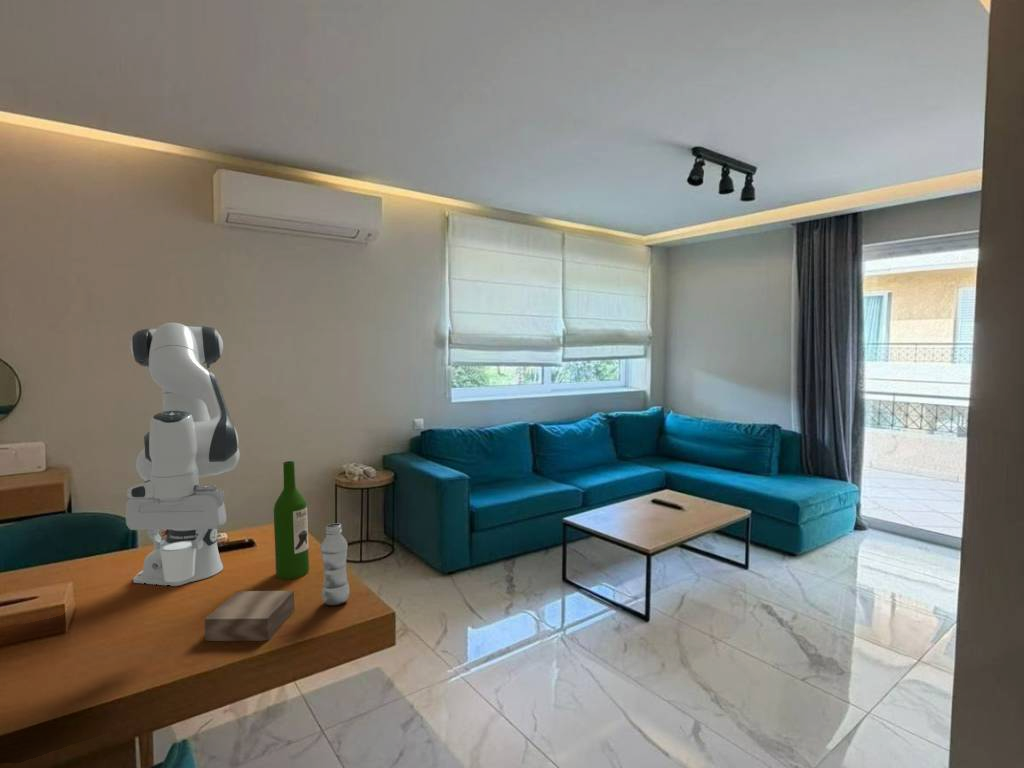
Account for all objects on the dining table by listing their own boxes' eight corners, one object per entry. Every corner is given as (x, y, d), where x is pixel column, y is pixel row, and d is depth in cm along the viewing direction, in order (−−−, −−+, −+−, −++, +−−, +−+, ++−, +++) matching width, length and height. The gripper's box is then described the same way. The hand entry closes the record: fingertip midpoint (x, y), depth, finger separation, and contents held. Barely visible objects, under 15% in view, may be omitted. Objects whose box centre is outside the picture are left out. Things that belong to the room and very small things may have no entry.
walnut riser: (205, 641, 119) (204, 619, 119) (238, 611, 133) (237, 591, 133) (268, 640, 119) (267, 618, 118) (294, 610, 133) (293, 590, 132)
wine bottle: (296, 580, 150) (292, 465, 149) (269, 577, 153) (264, 464, 151) (315, 568, 159) (311, 459, 157) (289, 565, 161) (285, 458, 159)
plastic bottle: (354, 601, 137) (352, 524, 136) (330, 611, 132) (327, 531, 131) (341, 594, 141) (339, 519, 140) (317, 603, 136) (314, 526, 135)
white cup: (200, 568, 122) (199, 538, 122) (194, 580, 116) (193, 548, 116) (165, 573, 120) (163, 542, 120) (157, 585, 114) (155, 552, 113)
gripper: (230, 482, 120) (233, 542, 121) (139, 483, 120) (143, 543, 121) (214, 489, 114) (217, 553, 115) (119, 490, 114) (122, 554, 115)
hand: (178, 548), depth 118 cm, fingers closed on white cup, 7 cm apart
